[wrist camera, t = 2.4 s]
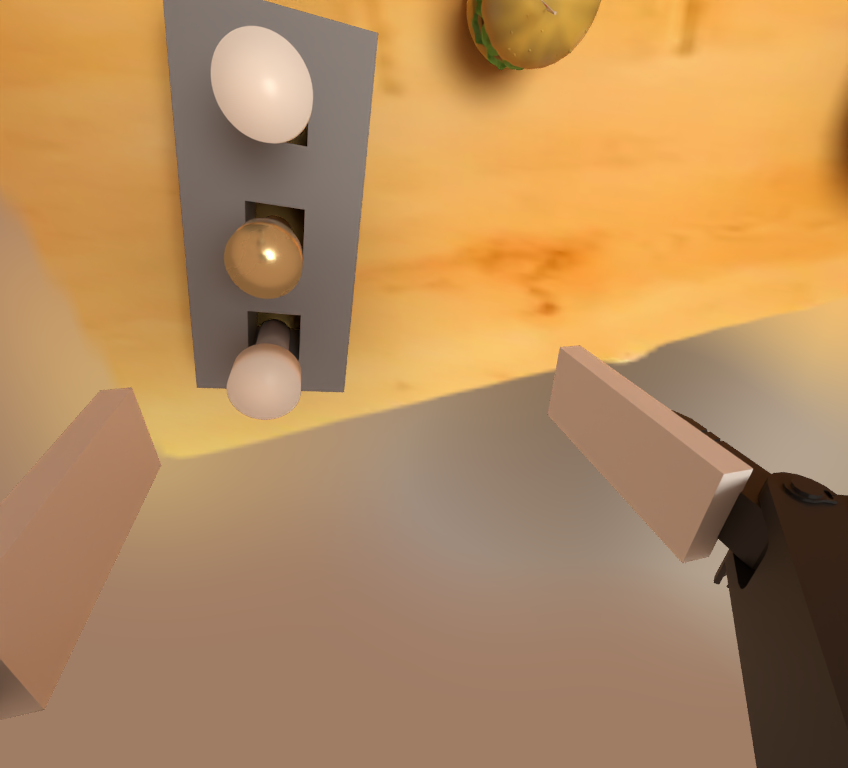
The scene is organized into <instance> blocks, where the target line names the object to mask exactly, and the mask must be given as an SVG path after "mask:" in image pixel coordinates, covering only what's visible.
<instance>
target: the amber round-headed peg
mask: <svg viewBox="0 0 848 768" xmlns="http://www.w3.org/2000/svg"><path fill="white" fill-rule="evenodd" d="M224 263H225V267H226V270H227V273H228V275H229V276H230V278H231V279H232V281H233V282H234V283H235V284H236V285H237V286H238V287H239V288H240V289H241V290H243V291H244V292H246V293H247V294H249V295H252V296H254V297H258V298H263V299H273V298H278V297H281V296H284V295H285V294H287V293H289V292H290V291H291V290H292V289H293V288H294V287H295V286H296V285H297V283H298V281H299V279H300V277H301V273H302V263H303V253H302V248H301V244H300V242H299V240H298V238H297V237H296V235H295V234H294V233H293V231H292V228H291V226H290V224H289V223H288V222H287V221H286V220H285V219H284V218H282V217H280V216H275V215H272V216H268V217H266V218H256V219H252V220H249V221H247V222H245V223H244V224H243V225H241V226H240V227H239V228H238V229H237V230H236V232H235V233H234V234H233V235H232V236H231V238H230V239H229V240H228V242H227V244H226V247H225V252H224Z"/></svg>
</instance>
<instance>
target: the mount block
mask: <svg viewBox="0 0 848 768" xmlns="http://www.w3.org/2000/svg"><path fill="white" fill-rule="evenodd" d="M163 5H164V17H165V28H166V40H167V51H168V63H169V74H170V85H171V97H172V108H173V120H174V131H175V143H176V154H177V165H178V177H179V188H180V200H181V211H182V223H183V234H184V245H185V257H186V268H187V280H188V291H189V303H190V314H191V326H192V337H193V348H194V360H195V371H196V383H197V388H225V389H227V381H228V378H229V376H230V373H231V370H232V367H233V364H234V361H235V359H236V358H237V356H238V355H239V354H240V353H241V352H242V351H243V350H245V349H246V348H248V347H250V346H253V345H256V342H257V338H258V334H259V330H260V327H257V312H266V313H278V314H290V315H301V324H300V330H298V329H289V330H290V341H289V351H290V352H291V353H292V354H293V355H294V356H295V357H296V359H297V360H298V362H299V364H300V367H301V391H320V392H344V386H345V375H346V365H347V354H348V344H349V333H350V323H351V312H352V302H353V292H354V281H355V271H356V260H357V250H358V239H359V229H360V218H361V208H362V197H363V187H364V176H365V166H366V156H367V145H368V135H369V124H370V114H371V103H372V93H373V82H374V72H375V61H376V51H377V40H378V33H376V32H373V31H369V30H366V29H362V28H358V27H355V26H351V25H348V24H344V23H341V22H337V21H334V20H330V19H327V18H323V17H320V16H316V15H313V14H309V13H306V12H302V11H299V10H295V9H292V8H288V7H284V6H281V5H277V4H274V3H270V2H267V1H263V0H163ZM244 26H259V27H264V28H267V29H270V30H272V31H274V32H276V33H278V34H279V35H281V36H282V37H284V38H285V39H286V40H287V41H288V42H289V43H290V44H291V45H292V46H293V47H294V48H295V49H296V50H297V52H298V53H299V54H300V56H301V58H302V59H303V61H304V63H305V65H306V67H307V69H308V72H309V75H310V78H311V82H312V89H313V105H312V112H311V116H310V119H309V122H308V141H307V146H302V145H296V144H291V143H286V142H285V143H276V144H273V143H265V142H261V141H257V140H255V139H252V138H250V137H248V136H246V135H245V134H243V133H242V132H240V131H239V130H238V129H237V128H236V127H234V126H233V125H232V124H231V122H230V121H229V120H228V119H227V118H226V116H225V115H224V114H223V112H222V110H221V109H220V107H219V105H218V103H217V101H216V98H215V95H214V92H213V88H212V84H211V62H212V58H213V54H214V52H215V49H216V47H217V45H218V44H219V42H220V41H221V40H222V39H223V38H224V36H225V35H227V34H228V33H229V32H231V31H233V30H235V29H237V28H240V27H244ZM256 202H258V203H265V204H271V205H278V206H284V207H291V208H297V209H304V210H305V220H304V246H303V247H301V248H302V253H303V263H302V273H301V277H300V279H299V281H298V283H297V285H296V286H295V287H294V288H293V289H292V290H291V291H290V292H289V293H287V294H285V295H284V296H281V297H278V298H273V299H263V298H258V297H254V296H252V295H249V294H247V293H246V292H244V291H243V290H241V289H240V288H239V287H238V286H237V285H236V284H235V283H234V282H233V281H232V279H231V278H230V276H229V275H228V273H227V270H226V267H225V263H224V252H225V247H226V244H227V242H228V240H229V239H230V238H231V236H232V235H233V234H234V233H235V232H236V230H237V229H238V228H239V227H240V226H241V225H243V224H244V223H245V222H247V221H249V220H252V219H256Z"/></svg>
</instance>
